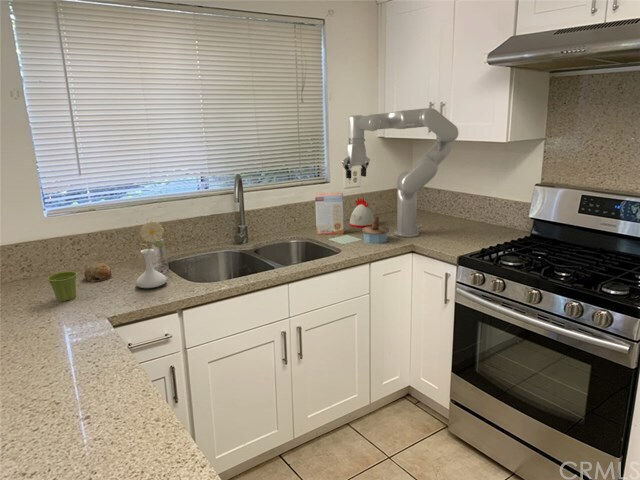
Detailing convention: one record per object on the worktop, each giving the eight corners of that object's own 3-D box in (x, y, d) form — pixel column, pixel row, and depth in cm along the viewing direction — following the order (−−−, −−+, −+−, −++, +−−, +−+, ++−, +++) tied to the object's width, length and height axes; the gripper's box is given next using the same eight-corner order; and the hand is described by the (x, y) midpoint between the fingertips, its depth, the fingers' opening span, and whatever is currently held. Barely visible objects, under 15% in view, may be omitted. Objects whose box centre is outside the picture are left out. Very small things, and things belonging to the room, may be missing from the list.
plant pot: (69, 304, 166) (65, 280, 163) (45, 303, 167) (40, 279, 165) (86, 294, 175) (82, 271, 172) (63, 293, 176) (59, 271, 174)
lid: (376, 226, 239) (376, 213, 237) (394, 231, 229) (394, 217, 227) (356, 230, 232) (356, 217, 230) (374, 235, 222) (374, 221, 220)
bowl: (376, 236, 239) (376, 227, 238) (391, 241, 230) (391, 231, 229) (359, 240, 233) (359, 230, 232) (374, 245, 224) (374, 235, 223)
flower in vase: (130, 290, 177) (120, 225, 170) (145, 280, 187) (136, 217, 181) (163, 291, 175) (155, 225, 168) (176, 280, 186) (169, 217, 179)
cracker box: (344, 232, 250) (343, 192, 244) (343, 235, 244) (342, 194, 239) (317, 232, 251) (316, 193, 246) (316, 235, 246) (314, 195, 240)
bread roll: (85, 290, 189) (81, 276, 184) (87, 272, 196) (83, 258, 191) (112, 287, 191) (108, 273, 186) (113, 270, 199) (110, 255, 194)
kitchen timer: (359, 221, 273) (359, 195, 269) (379, 224, 264) (379, 197, 260) (344, 226, 263) (344, 199, 259) (365, 229, 254) (364, 201, 250)
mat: (347, 235, 243) (347, 234, 243) (362, 240, 233) (362, 239, 233) (328, 239, 236) (328, 239, 236) (342, 244, 227) (342, 244, 227)
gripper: (364, 140, 238) (364, 174, 242) (337, 142, 228) (337, 178, 232) (374, 141, 232) (374, 176, 237) (347, 143, 222) (347, 179, 227)
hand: (356, 177), depth 234 cm, fingers open, 9 cm apart
